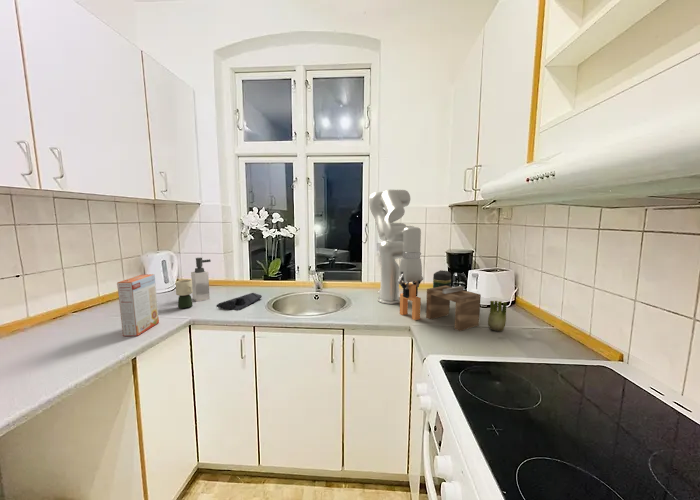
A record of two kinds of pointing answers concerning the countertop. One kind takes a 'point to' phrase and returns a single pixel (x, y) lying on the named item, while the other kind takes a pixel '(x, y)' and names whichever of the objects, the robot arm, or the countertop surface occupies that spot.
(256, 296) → the dark slate chunk
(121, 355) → the countertop surface
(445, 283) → the coffee jar
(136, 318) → the cracker box
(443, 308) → the small wooden table
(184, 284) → the character mug
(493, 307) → the fennel bulb
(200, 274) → the soap dispenser
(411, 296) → the orange stepped arch block
